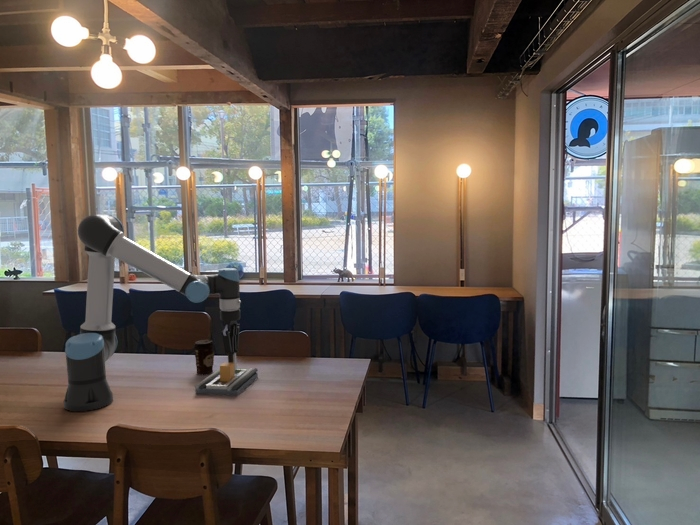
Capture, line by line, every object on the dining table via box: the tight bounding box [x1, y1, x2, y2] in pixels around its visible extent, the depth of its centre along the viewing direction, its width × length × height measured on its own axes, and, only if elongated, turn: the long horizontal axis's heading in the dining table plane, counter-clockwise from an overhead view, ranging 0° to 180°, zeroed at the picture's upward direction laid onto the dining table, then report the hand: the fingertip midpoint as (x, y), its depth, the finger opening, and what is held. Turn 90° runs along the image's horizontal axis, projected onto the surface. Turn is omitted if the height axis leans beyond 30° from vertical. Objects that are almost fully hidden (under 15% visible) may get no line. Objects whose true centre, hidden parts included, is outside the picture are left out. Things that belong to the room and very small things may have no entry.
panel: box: [194, 368, 258, 397], centre depth 199 cm, size 20×16×3 cm
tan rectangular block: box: [219, 362, 235, 382], centre depth 199 cm, size 4×4×6 cm
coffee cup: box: [192, 339, 216, 376], centre depth 214 cm, size 9×8×13 cm
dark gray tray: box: [194, 367, 258, 391], centre depth 199 cm, size 22×15×1 cm
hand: (232, 369), depth 204 cm, fingers closed
